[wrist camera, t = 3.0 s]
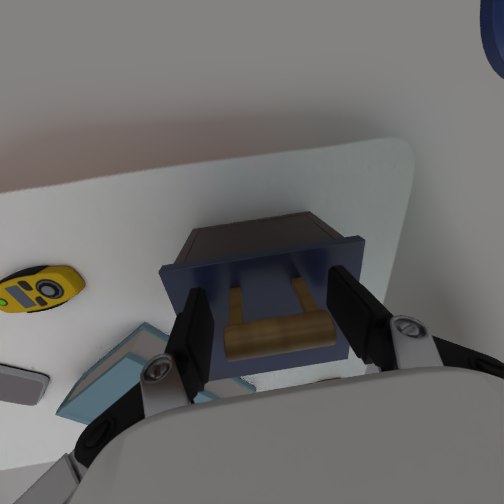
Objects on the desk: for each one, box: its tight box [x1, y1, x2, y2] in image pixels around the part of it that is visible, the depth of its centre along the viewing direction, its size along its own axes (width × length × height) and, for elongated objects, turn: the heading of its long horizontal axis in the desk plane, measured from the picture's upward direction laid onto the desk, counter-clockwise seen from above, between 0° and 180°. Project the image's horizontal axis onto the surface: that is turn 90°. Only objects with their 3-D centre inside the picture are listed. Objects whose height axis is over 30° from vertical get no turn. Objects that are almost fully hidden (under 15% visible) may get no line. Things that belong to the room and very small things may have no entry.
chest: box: [174, 211, 344, 264], centre depth 19 cm, size 11×13×9 cm
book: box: [55, 322, 256, 425], centre depth 30 cm, size 23×16×5 cm
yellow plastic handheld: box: [0, 266, 85, 313], centre depth 21 cm, size 5×2×15 cm
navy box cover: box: [159, 235, 365, 382], centre depth 12 cm, size 11×13×5 cm
